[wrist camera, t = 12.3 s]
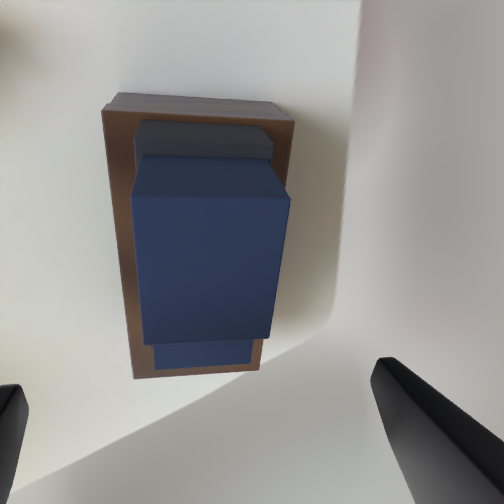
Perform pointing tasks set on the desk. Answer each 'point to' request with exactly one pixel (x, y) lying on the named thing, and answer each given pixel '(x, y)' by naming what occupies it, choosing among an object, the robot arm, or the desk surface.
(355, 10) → the desk surface
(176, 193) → the stepped navy block
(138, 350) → the shelf
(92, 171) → the desk surface
